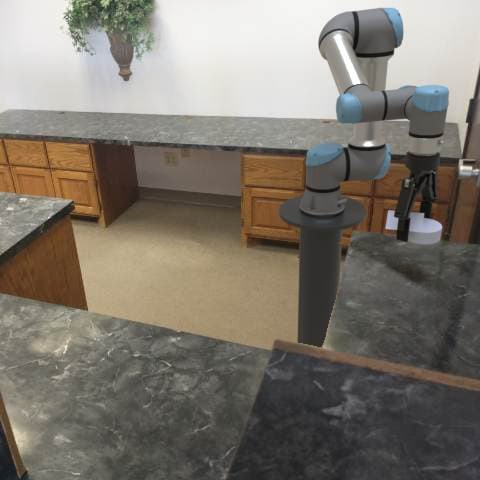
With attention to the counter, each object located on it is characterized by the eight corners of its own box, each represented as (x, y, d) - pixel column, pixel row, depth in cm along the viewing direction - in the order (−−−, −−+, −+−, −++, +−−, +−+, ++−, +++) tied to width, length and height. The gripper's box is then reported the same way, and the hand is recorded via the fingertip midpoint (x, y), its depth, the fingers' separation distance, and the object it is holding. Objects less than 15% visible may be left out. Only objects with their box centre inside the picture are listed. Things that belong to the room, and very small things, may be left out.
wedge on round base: (384, 240, 134) (440, 246, 128) (386, 217, 131) (443, 222, 125) (387, 225, 141) (440, 231, 135) (390, 203, 138) (444, 207, 132)
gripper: (415, 167, 115) (404, 252, 125) (460, 141, 128) (447, 221, 138) (383, 162, 121) (375, 244, 130) (430, 137, 133) (420, 214, 143)
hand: (412, 232), depth 134 cm, fingers closed on wedge on round base, 11 cm apart
